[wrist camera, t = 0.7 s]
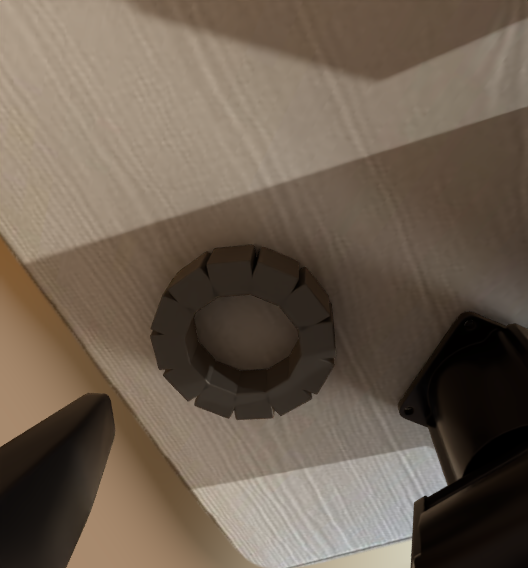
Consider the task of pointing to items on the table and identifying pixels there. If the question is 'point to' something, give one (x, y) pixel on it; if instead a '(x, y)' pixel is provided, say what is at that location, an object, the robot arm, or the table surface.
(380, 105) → the table surface
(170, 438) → the table surface
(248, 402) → the ring
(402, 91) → the table surface
